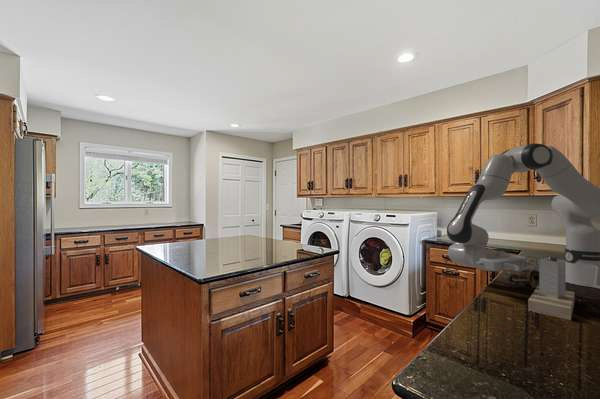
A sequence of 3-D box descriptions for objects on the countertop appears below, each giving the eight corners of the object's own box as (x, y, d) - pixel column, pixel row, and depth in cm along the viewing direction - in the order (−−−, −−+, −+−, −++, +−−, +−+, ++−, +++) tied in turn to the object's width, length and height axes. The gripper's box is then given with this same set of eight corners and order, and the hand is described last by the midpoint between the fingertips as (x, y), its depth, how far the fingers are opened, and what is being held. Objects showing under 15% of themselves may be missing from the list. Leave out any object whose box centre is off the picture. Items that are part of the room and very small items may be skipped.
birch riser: (537, 295, 109) (537, 285, 109) (574, 302, 101) (574, 291, 101) (528, 311, 93) (528, 300, 93) (570, 320, 86) (570, 308, 86)
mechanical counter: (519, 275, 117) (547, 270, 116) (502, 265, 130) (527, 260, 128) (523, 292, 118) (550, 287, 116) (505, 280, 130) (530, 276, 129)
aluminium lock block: (547, 292, 101) (547, 255, 101) (565, 297, 96) (565, 257, 96) (539, 294, 98) (539, 256, 98) (557, 299, 94) (557, 258, 94)
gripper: (471, 253, 112) (510, 260, 99) (503, 250, 121) (542, 256, 108) (471, 270, 112) (510, 279, 99) (503, 265, 121) (542, 272, 108)
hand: (527, 267), depth 104 cm, fingers open, 8 cm apart
